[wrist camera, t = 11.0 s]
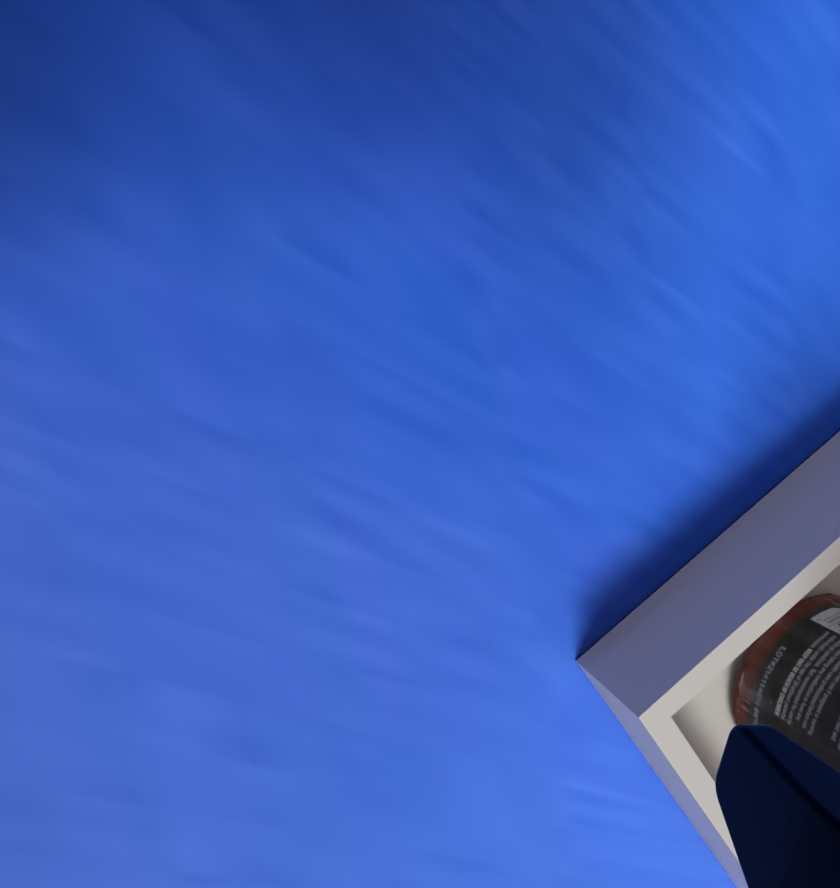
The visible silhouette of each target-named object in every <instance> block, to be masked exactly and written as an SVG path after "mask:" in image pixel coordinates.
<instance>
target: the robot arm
mask: <svg viewBox="0 0 840 888" xmlns="http://www.w3.org/2000/svg"><path fill="white" fill-rule="evenodd" d="M715 787H716V794H717V798H718V802H719V805H720V808H721V810H722V813H723V816H724V819H725V822H726V825H727V828H728V831H729V834H730V837H731V840H732V842H733V845H734V848H735V851H736V854H737V857H738V860H739V863H740V866H741V869H742V871H743V874H744V877H745V880H746V883H747V886H748V888H840V772H839V771H838V770H836V769H835V768H833V767H832V766H830V765H829V764H827V763H826V762H824V761H823V760H821V759H820V758H818V757H817V756H815V755H814V754H812V753H811V752H809V751H808V750H806V749H805V748H803V747H802V746H800V745H799V744H797V743H796V742H794V741H793V740H791V739H790V738H788V737H787V736H785V735H784V734H782V733H781V732H779V731H778V730H776V729H775V728H773V727H772V726H769V725H764V724H739V725H736V726H735V727H733V729H732V730H731V731H730V733H729V736H728V739H727V742H726V745H725V749H724V752H723V755H722V758H721V761H720V765H719V768H718V771H717V774H716V782H715Z"/></svg>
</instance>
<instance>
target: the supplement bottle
mask: <svg viewBox="0 0 840 888" xmlns="http://www.w3.org/2000/svg"><path fill="white" fill-rule="evenodd" d="M733 699H734V705H733V706H734V715H735V721H736V725H739V724H764V725H769V726H772V727H773V728H775V729H776V730H778V731H779V732H781V733H782V734H784V735H785V736H787V737H788V738H790V739H791V740H793V741H794V742H796V743H797V744H799V745H800V746H802V747H803V748H805V749H806V750H808V751H809V752H811V753H812V754H814V755H815V756H817V757H818V758H820V759H821V760H823V761H824V762H826V763H827V764H829V765H830V766H832V767H833V768H835V769H836V770H838V771H839V772H840V595H835V594H831V593H825V594H821V595H816V596H811V597H808V598H806V599H803V600H800V601H798V602H797V603H796V604H795V605H794V606H793V607H792V608H791V609H790V610H789V611H787V612H786V613H785V614H784V615H783V616H782V617H781V618H780V619H779V620H777V621H776V622H775V623H774V624H773V625H772V626H771V627H770V628H769V629H768V630H766V631H765V632H764V633H763V634H762V635H761V636H760V637H759V638H758V639H756V640H755V641H754V642H753V643H752V644H751V645H750V647H749V649H748V650H747V652H746V654H745V656H744V658H743V660H742V663H741V664H740V666H739V667H738V673H737V678H736V684H735V688H734V696H733Z"/></svg>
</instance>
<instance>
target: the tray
mask: <svg viewBox="0 0 840 888" xmlns="http://www.w3.org/2000/svg"><path fill="white" fill-rule="evenodd" d="M825 593H831V594H835V595H840V431H839V432H838V433H837V434H836V435H834V436H833V437H832V438H831V439H830V440H829V441H828V442H826V443H825V444H824V445H823V446H822V447H821V448H820V449H818V450H817V451H816V452H815V453H814V454H813V455H812V456H810V457H809V458H808V459H807V460H806V461H805V462H803V463H802V464H801V465H800V466H799V467H798V468H797V469H795V470H794V471H793V472H792V473H791V474H790V475H789V476H787V477H786V478H785V479H784V480H783V481H782V482H781V483H779V484H778V485H777V486H776V487H775V488H774V489H772V490H771V491H770V492H769V493H768V494H767V495H766V496H764V497H763V498H762V499H761V500H760V501H759V502H758V503H756V504H755V505H754V506H753V507H752V508H751V509H750V510H748V511H747V512H746V513H745V514H744V515H743V516H741V517H740V518H739V519H738V520H737V521H736V522H735V523H733V524H732V525H731V526H730V527H729V528H728V529H727V530H725V531H724V532H723V533H722V534H721V535H720V536H719V537H717V538H716V539H715V540H714V541H713V542H712V543H711V544H709V545H708V546H707V547H706V548H705V549H704V550H702V551H701V552H700V553H699V554H698V555H697V556H696V557H694V558H693V559H692V560H691V561H690V562H689V563H688V564H686V565H685V566H684V567H683V568H682V569H681V570H680V571H678V572H677V573H676V574H675V575H674V576H673V577H671V578H670V579H669V580H668V581H667V582H666V583H665V584H663V585H662V586H661V587H660V588H659V589H658V590H657V591H655V592H654V593H653V594H652V595H651V596H650V597H649V598H647V599H646V600H645V601H644V602H643V603H642V604H640V605H639V606H638V607H637V608H636V609H635V610H634V611H632V612H631V613H630V614H629V615H628V616H627V617H626V618H624V619H623V620H622V621H621V622H620V623H619V624H618V625H616V626H615V627H614V628H613V629H612V630H611V631H609V632H608V633H607V634H606V635H605V636H604V637H603V638H601V639H600V640H599V641H598V642H597V643H596V644H595V645H593V646H592V647H591V648H590V649H589V650H588V651H587V652H585V653H584V654H583V655H582V656H581V657H580V658H579V659H577V660H576V662H577V663H578V664H579V666H580V667H581V669H582V670H583V671H584V673H585V674H586V676H587V677H588V678H589V680H590V681H591V683H592V684H593V685H594V687H595V688H596V690H597V691H598V692H599V694H600V695H601V697H602V698H603V700H604V701H605V702H606V704H607V705H608V707H609V708H610V709H611V711H612V712H613V714H614V715H615V716H616V718H617V719H618V721H619V722H620V723H621V725H622V726H623V728H624V729H625V730H626V732H627V733H628V735H629V736H630V738H631V739H632V740H633V742H634V743H635V745H636V746H637V747H638V749H639V750H640V752H641V753H642V754H643V756H644V757H645V759H646V760H647V761H648V763H649V764H650V766H651V767H652V768H653V770H654V771H655V773H656V774H657V776H658V777H659V778H660V780H661V781H662V783H663V784H664V785H665V787H666V788H667V790H668V791H669V792H670V794H671V795H672V797H673V798H674V799H675V801H676V802H677V804H678V805H679V806H680V808H681V809H682V811H683V812H684V814H685V815H686V816H687V818H688V819H689V821H690V822H691V823H692V825H693V826H694V828H695V829H696V830H697V832H698V833H699V835H700V836H701V837H702V839H703V840H704V842H705V843H706V844H707V846H708V847H709V849H710V850H711V852H712V853H713V854H714V856H715V857H716V859H717V860H718V861H719V863H720V864H721V866H722V867H723V868H724V870H725V871H726V873H727V874H728V875H729V877H730V878H731V880H732V881H733V882H734V884H735V885H736V886H737V887H738V888H748V886H747V883H746V880H745V877H744V874H743V871H742V869H741V866H740V863H739V860H738V857H737V854H736V851H735V848H734V845H733V842H732V840H731V837H730V834H729V831H728V828H727V825H726V822H725V819H724V816H723V813H722V810H721V808H720V805H719V802H718V798H717V794H716V787H715V782H716V774H717V771H718V768H719V765H720V761H721V758H722V755H723V752H724V749H725V745H726V742H727V739H728V736H729V733H730V731H731V730H732V729H733V727H735V726H736V721H735V715H734V706H733V705H734V699H733V696H734V688H735V684H736V678H737V673H738V667H739V666H740V664H741V663H742V660H743V658H744V656H745V654H746V652H747V650H748V649H749V647H750V645H751V644H752V643H753V642H754V641H755V640H756V639H758V638H759V637H760V636H761V635H762V634H763V633H764V632H765V631H766V630H768V629H769V628H770V627H771V626H772V625H773V624H774V623H775V622H776V621H777V620H779V619H780V618H781V617H782V616H783V615H784V614H785V613H786V612H787V611H789V610H790V609H791V608H792V607H793V606H794V605H795V604H796V603H797V602H798V601H800V600H803V599H806V598H808V597H811V596H816V595H821V594H825Z"/></svg>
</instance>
